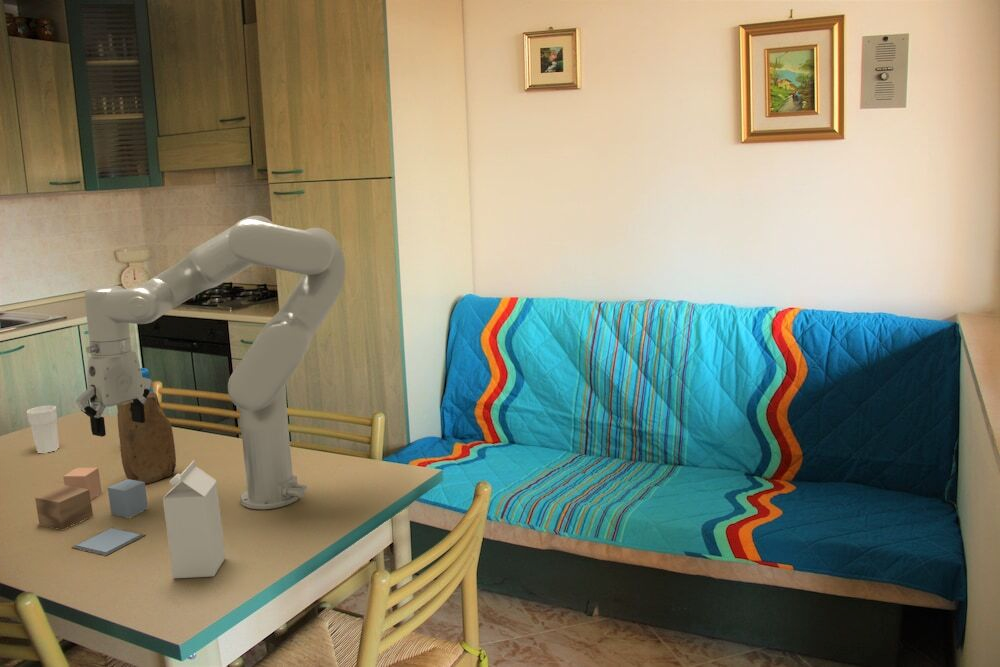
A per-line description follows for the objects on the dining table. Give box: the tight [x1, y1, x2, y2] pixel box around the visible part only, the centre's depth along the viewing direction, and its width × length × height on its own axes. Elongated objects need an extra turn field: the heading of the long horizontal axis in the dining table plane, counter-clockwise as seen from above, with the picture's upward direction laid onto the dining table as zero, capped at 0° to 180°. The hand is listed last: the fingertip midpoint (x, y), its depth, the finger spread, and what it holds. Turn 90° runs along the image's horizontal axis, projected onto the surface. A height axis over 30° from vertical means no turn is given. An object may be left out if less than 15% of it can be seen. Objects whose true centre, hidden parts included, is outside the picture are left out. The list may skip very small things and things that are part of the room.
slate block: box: [107, 478, 149, 519], centre depth 174 cm, size 5×5×6 cm
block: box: [116, 392, 177, 485], centre depth 191 cm, size 11×8×20 cm
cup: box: [26, 405, 60, 454], centre depth 214 cm, size 7×7×11 cm
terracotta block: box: [62, 467, 103, 501], centre depth 182 cm, size 5×5×6 cm
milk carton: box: [162, 459, 226, 579], centre depth 146 cm, size 7×7×19 cm
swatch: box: [71, 527, 146, 556], centre depth 160 cm, size 9×9×1 cm
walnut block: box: [34, 485, 94, 530], centre depth 171 cm, size 7×7×6 cm
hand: (119, 428), depth 172 cm, fingers open, 9 cm apart
